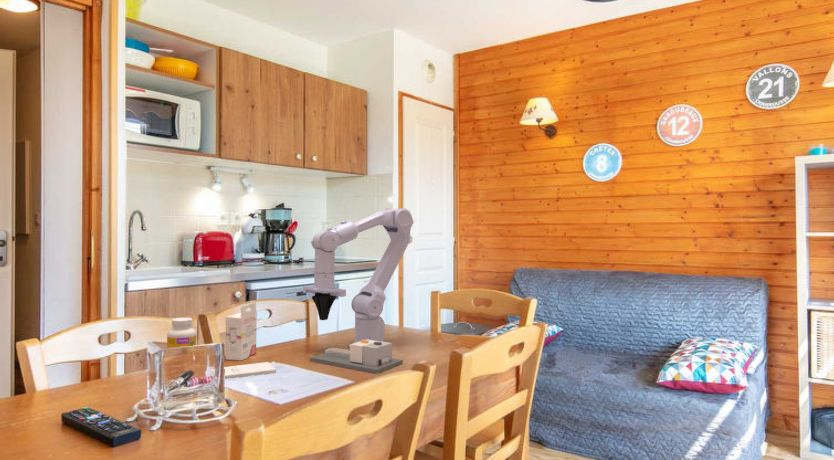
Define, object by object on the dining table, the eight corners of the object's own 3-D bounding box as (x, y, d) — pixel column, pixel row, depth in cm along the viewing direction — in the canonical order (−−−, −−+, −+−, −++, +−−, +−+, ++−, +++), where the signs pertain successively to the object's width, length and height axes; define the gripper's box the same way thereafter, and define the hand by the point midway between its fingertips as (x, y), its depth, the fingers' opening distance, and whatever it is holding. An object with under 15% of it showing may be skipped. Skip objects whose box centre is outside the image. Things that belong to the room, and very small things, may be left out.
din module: (366, 355, 149) (366, 337, 149) (378, 357, 147) (378, 339, 147) (349, 361, 143) (350, 342, 142) (361, 363, 140) (362, 343, 140)
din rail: (333, 352, 153) (333, 347, 153) (389, 362, 143) (389, 356, 143) (324, 355, 150) (324, 349, 150) (381, 365, 140) (381, 359, 140)
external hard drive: (275, 375, 135) (223, 381, 129) (268, 367, 142) (218, 373, 136) (275, 368, 135) (223, 374, 129) (268, 361, 142) (218, 366, 136)
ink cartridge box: (240, 352, 155) (241, 301, 155) (256, 353, 154) (257, 302, 154) (224, 359, 147) (225, 305, 147) (241, 361, 146) (241, 306, 146)
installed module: (379, 358, 147) (379, 338, 147) (391, 360, 145) (392, 340, 145) (362, 364, 141) (363, 343, 140) (375, 366, 138) (375, 345, 138)
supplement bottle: (173, 375, 131) (174, 322, 131) (161, 370, 135) (162, 318, 135) (200, 370, 136) (201, 319, 136) (188, 365, 140) (189, 315, 140)
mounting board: (338, 352, 157) (338, 349, 157) (402, 363, 146) (402, 359, 146) (310, 361, 147) (310, 357, 147) (376, 373, 136) (376, 369, 136)
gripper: (296, 272, 158) (295, 318, 158) (335, 275, 150) (334, 324, 150) (312, 270, 164) (311, 315, 164) (350, 273, 156) (350, 320, 156)
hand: (323, 319), depth 157 cm, fingers closed
